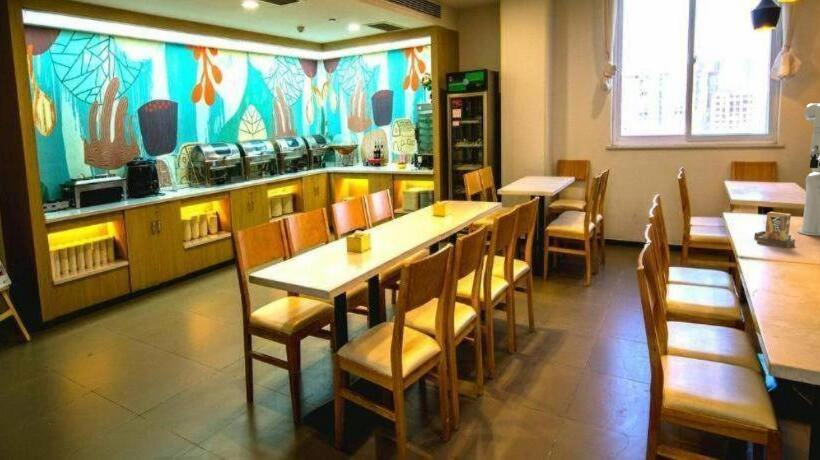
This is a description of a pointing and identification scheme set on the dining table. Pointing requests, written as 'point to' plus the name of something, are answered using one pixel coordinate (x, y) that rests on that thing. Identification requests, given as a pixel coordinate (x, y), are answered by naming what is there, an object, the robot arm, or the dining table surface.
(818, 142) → the robot arm
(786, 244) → the holder
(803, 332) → the dining table surface
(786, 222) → the candy box
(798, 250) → the dining table surface
